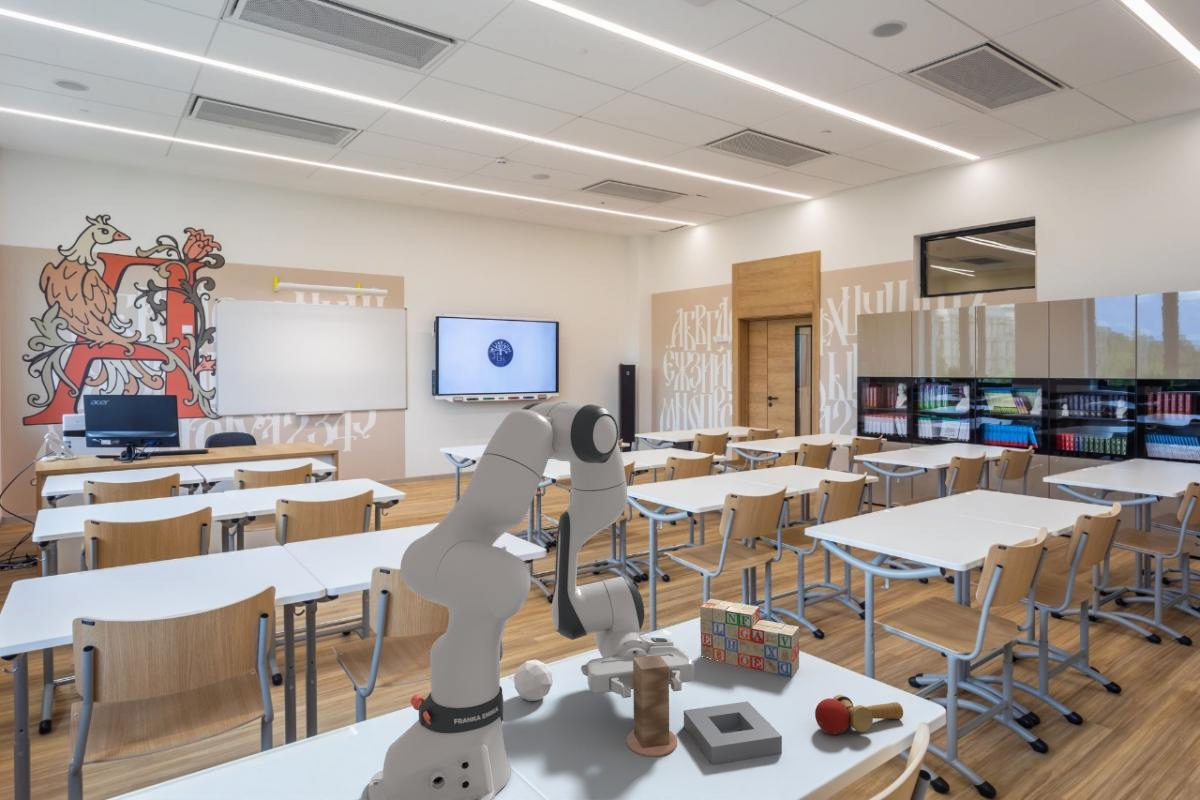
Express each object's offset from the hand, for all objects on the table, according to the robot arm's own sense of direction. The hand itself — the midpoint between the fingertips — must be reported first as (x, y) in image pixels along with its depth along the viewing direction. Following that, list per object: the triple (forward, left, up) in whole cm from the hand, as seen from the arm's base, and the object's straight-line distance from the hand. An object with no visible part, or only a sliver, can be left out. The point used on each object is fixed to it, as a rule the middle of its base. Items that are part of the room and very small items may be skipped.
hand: (652, 690), depth 120 cm
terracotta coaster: (0, +1, -10) cm, 10 cm away
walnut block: (0, +1, -9) cm, 9 cm away
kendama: (+37, -13, -10) cm, 40 cm away
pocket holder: (+13, -5, -10) cm, 17 cm away
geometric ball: (-12, +27, -10) cm, 31 cm away
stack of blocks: (+38, +19, -10) cm, 43 cm away
